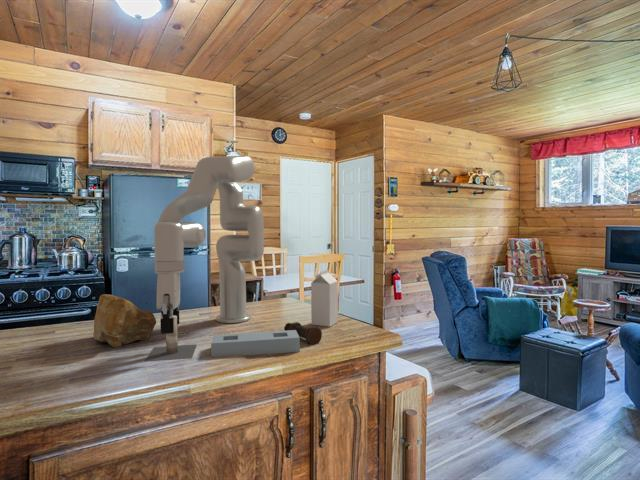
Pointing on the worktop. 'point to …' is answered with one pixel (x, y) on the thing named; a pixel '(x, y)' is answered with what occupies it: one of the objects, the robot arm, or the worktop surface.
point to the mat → (161, 354)
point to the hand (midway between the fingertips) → (170, 328)
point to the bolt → (306, 332)
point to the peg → (172, 339)
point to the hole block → (255, 343)
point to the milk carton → (324, 300)
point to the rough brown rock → (121, 321)
